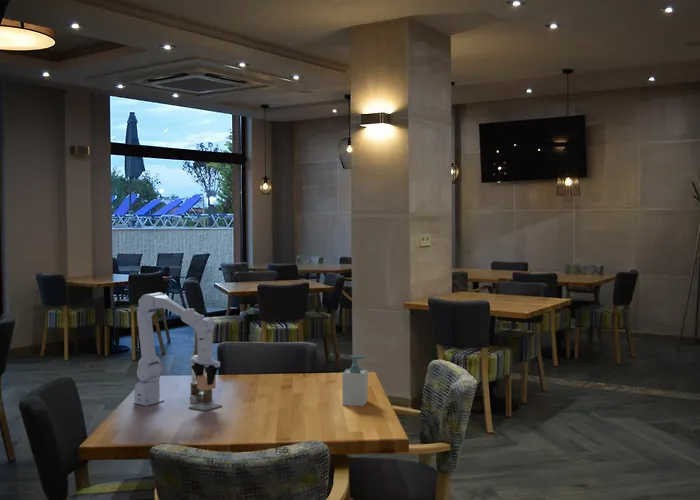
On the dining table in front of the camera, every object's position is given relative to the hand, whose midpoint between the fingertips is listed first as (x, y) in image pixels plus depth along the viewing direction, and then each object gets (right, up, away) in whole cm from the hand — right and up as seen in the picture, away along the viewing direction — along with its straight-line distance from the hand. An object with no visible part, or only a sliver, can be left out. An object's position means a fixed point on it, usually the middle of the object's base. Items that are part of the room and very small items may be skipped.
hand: (205, 383), depth 281 cm
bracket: (-4, -9, +13) cm, 16 cm away
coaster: (0, -9, 0) cm, 9 cm away
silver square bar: (-4, -9, +12) cm, 16 cm away
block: (0, -2, +1) cm, 2 cm away
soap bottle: (+59, -9, +6) cm, 60 cm away
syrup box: (-9, -8, +32) cm, 34 cm away
